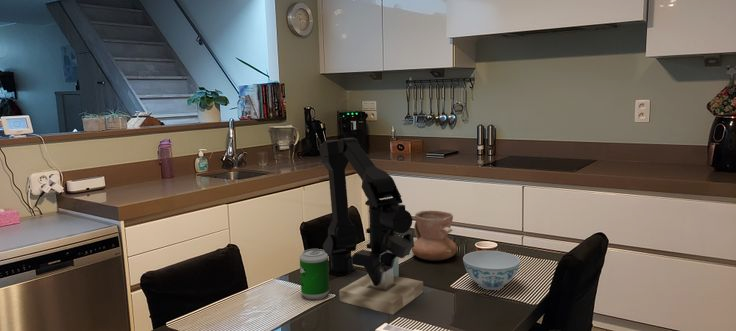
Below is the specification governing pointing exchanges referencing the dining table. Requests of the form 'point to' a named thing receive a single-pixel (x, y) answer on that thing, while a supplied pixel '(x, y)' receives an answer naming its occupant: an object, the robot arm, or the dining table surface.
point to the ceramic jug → (433, 235)
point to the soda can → (314, 274)
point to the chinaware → (491, 268)
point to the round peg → (395, 267)
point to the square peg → (384, 279)
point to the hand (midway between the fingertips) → (381, 282)
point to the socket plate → (381, 294)
